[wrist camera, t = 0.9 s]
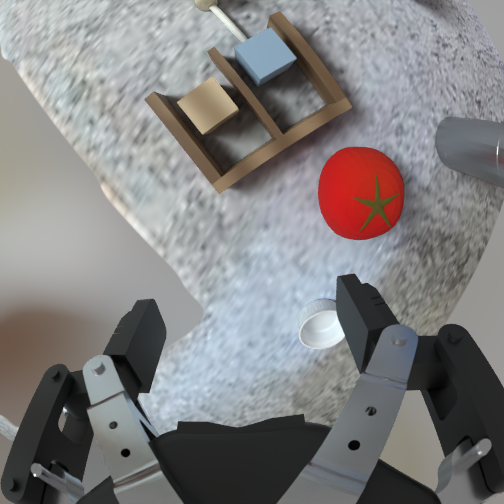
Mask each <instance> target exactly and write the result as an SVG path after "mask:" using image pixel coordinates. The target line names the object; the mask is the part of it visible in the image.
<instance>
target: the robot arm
mask: <svg viewBox="0 0 504 504" xmlns="http://www.w3.org/2000/svg"><path fill="white" fill-rule="evenodd" d="M436 148H437V152H438V155H439V157H440V159H441V161H442V162H443V163H444V164H445V165H446V166H447V167H449V168H451V169H454V170H457V171H460V172H463V173H466V174H469V175H471V176H474V177H477V178H479V179H482V180H485V181H487V182H490V183H492V184H495V185H497V186H500V187H502V188H504V123H498V122H493V121H486V120H479V119H470V118H458V117H448V118H445V119H444V120H443V121H442V122H441V123H440V125H439V127H438V129H437V133H436ZM336 312H337V317H338V320H339V322H340V325H341V327H342V330H343V332H344V335H345V337H346V340H347V342H348V345H349V347H350V350H351V352H352V355H353V357H354V360H355V362H356V365H357V368H358V370H359V373H360V374H361V375H360V377H359V379H358V381H357V383H356V385H355V387H354V389H353V391H352V393H351V395H350V397H349V399H348V401H347V403H346V404H345V406H344V408H343V410H342V412H341V414H340V415H339V417H338V419H337V421H336V422H335V424H334V426H333V427H332V428H331V427H328V426H326V425H322V424H318V423H312V422H305V419H304V414H300V415H293V416H286V417H277V418H271V419H268V420H264V421H261V422H258V423H254V424H251V425H248V426H244V427H238V428H237V427H231V426H225V425H220V424H215V423H210V422H183V421H178V426H177V430H173V431H170V432H167V433H164V434H162V435H159V434H158V432H157V431H156V429H155V428H154V426H153V424H152V422H151V421H150V419H149V417H148V415H147V413H146V412H145V410H144V408H143V406H142V404H141V402H140V401H139V399H138V395H139V393H149V392H150V389H151V385H152V382H153V378H154V375H155V372H156V368H157V365H158V362H159V359H160V355H161V352H162V349H163V345H164V342H165V340H166V327H165V324H164V321H163V319H162V316H161V314H160V312H159V309H158V306H157V304H156V302H155V300H154V299H144V300H137V302H136V303H135V305H134V307H133V309H132V310H131V311H129V312H128V313H127V314H126V315H125V316H124V317H123V318H121V320H120V322H119V324H118V326H117V328H116V329H115V331H114V334H113V335H112V337H111V339H110V341H109V343H108V345H107V347H106V349H105V351H104V353H103V355H99V356H96V357H93V358H91V359H90V360H89V361H88V362H87V363H86V364H85V366H84V368H83V370H80V371H75V372H70V371H69V370H68V369H67V367H66V366H65V365H63V364H57V365H54V366H52V367H50V368H49V369H48V370H47V371H46V372H45V374H44V376H43V378H42V380H41V382H40V384H39V386H38V388H37V390H36V392H35V394H34V396H33V398H32V400H31V402H30V404H29V406H28V409H27V411H26V413H25V416H24V418H23V420H22V422H21V425H20V427H19V430H18V432H17V435H16V437H15V440H14V442H13V445H12V448H11V451H10V453H9V456H8V459H7V462H6V465H5V468H4V472H3V475H2V478H1V490H2V493H3V494H4V496H5V497H6V498H7V499H8V500H9V501H11V502H13V503H14V504H482V503H484V502H486V501H488V500H490V499H492V498H494V497H496V496H497V495H499V494H501V493H503V492H504V388H503V386H502V384H501V382H500V381H499V379H498V377H497V375H496V374H495V372H494V370H493V369H492V367H491V366H490V364H489V362H488V361H487V359H486V358H485V356H484V355H483V353H482V352H481V350H480V348H479V347H478V346H477V344H476V343H475V341H474V340H473V338H472V337H471V335H470V334H469V332H468V331H467V330H466V329H465V328H463V327H462V326H459V325H456V324H447V325H444V326H443V327H441V328H440V330H439V332H438V335H437V336H418V335H417V334H416V332H415V331H414V330H413V329H412V328H410V327H408V326H405V325H400V324H399V322H398V320H397V319H396V317H395V316H394V314H393V313H392V311H391V310H390V308H389V307H388V305H387V304H386V303H385V301H384V299H383V298H382V297H381V295H380V293H379V292H378V290H377V289H376V288H375V287H373V286H371V285H370V284H368V283H364V284H361V282H360V280H359V279H358V277H357V276H356V274H348V275H342V276H338V277H337V290H336ZM406 390H420V391H421V393H422V396H423V398H424V401H425V403H426V405H427V408H428V411H429V413H430V416H431V418H432V421H433V424H434V426H435V429H436V432H437V435H438V438H439V440H440V443H441V447H442V450H443V452H444V455H445V458H444V459H443V461H442V462H441V464H440V466H439V468H438V485H437V488H436V490H435V492H434V491H433V490H432V489H430V488H428V487H427V486H425V485H423V484H421V483H419V482H418V481H416V480H414V479H412V478H411V477H409V476H407V475H405V474H404V473H402V472H400V471H399V470H397V469H395V468H394V467H392V466H390V465H389V464H387V463H385V462H384V461H382V460H381V459H379V457H380V455H381V453H382V451H383V449H384V446H385V444H386V442H387V440H388V437H389V435H390V432H391V430H392V427H393V425H394V422H395V420H396V417H397V414H398V412H399V409H400V406H401V403H402V400H403V398H404V394H405V391H406ZM63 407H65V409H66V410H67V411H68V412H69V414H68V417H67V419H66V422H65V425H64V428H63V431H62V432H61V431H60V429H59V427H58V421H59V418H60V415H61V413H62V410H63ZM94 434H95V437H96V440H97V443H98V446H99V448H100V451H101V454H102V456H103V459H104V461H105V463H106V466H107V468H108V471H109V473H110V476H109V477H108V478H106V479H105V480H104V481H103V482H101V483H100V484H99V485H98V486H96V487H95V488H94V489H92V490H91V491H90V492H88V493H85V492H84V487H83V485H82V479H83V475H84V471H85V466H86V462H87V458H88V454H89V450H90V446H91V443H92V439H93V435H94Z"/></svg>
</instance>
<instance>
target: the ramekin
mask: <svg viewBox="0 0 504 504" xmlns="http://www.w3.org/2000/svg"><path fill="white" fill-rule="evenodd" d="M298 326H299V339H300V341H301V343H302V344H303V345H305V346H306V347H308V348H311V349H325V348H329V347H331V346H333V345H335V344H337V343H338V342H340V341H341V340H342V339H343V338H344V337H345V335H344V332H343V330H342V327H341V325H340V322H339V320H338V317H337V312H336V303H335V302H334V301H332V300H328V299H320V300H315V301H313V302H311V303H309V304H308V305H306V306H305V307H304V308H303V309H302V310H301V312H300V314H299V317H298Z"/></svg>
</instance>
